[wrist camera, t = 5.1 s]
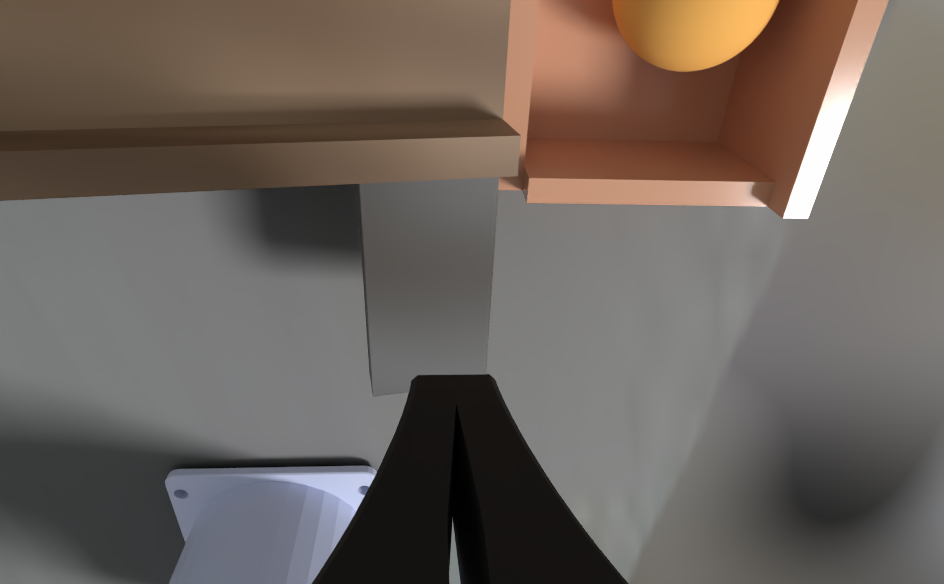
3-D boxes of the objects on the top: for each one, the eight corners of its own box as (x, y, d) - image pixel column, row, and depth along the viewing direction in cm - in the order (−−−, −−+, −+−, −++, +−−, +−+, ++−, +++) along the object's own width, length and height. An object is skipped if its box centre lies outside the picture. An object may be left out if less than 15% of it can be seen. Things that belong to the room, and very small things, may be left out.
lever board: (476, 359, 16) (500, 417, 14) (-116, 430, 13) (-191, 518, 11) (510, -260, 10) (563, -311, 8) (-682, -417, 6) (-1122, -576, 4)
